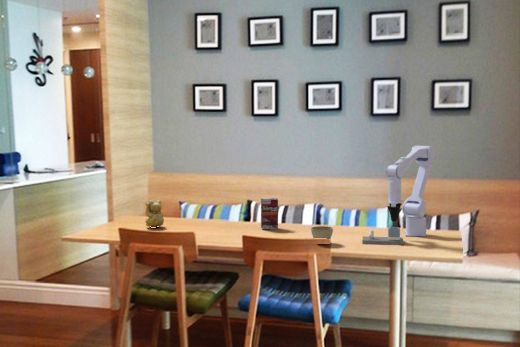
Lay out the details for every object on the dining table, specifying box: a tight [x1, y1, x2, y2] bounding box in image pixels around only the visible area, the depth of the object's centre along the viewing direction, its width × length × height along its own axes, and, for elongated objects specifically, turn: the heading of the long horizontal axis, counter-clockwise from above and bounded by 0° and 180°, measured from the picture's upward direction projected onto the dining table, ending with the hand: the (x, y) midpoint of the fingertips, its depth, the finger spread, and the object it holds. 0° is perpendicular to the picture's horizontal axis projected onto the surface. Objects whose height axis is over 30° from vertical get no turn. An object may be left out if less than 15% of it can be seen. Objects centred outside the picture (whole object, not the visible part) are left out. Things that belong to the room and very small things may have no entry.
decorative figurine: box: [144, 199, 165, 228], centre depth 297 cm, size 10×8×15 cm
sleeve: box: [387, 226, 401, 240], centre depth 254 cm, size 5×5×5 cm
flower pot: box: [310, 225, 334, 240], centre depth 253 cm, size 10×10×7 cm
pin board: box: [361, 229, 404, 246], centre depth 255 cm, size 18×9×6 cm, turn 79°
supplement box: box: [260, 197, 279, 231], centre depth 290 cm, size 9×5×16 cm, turn 97°
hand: (394, 220), depth 259 cm, fingers open, 7 cm apart
